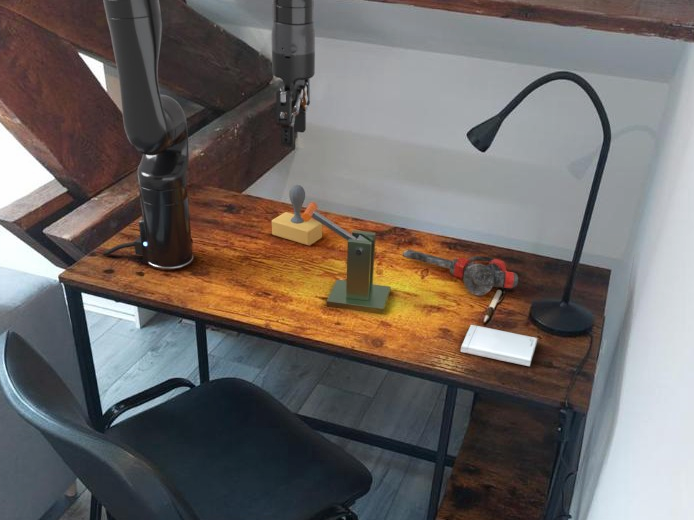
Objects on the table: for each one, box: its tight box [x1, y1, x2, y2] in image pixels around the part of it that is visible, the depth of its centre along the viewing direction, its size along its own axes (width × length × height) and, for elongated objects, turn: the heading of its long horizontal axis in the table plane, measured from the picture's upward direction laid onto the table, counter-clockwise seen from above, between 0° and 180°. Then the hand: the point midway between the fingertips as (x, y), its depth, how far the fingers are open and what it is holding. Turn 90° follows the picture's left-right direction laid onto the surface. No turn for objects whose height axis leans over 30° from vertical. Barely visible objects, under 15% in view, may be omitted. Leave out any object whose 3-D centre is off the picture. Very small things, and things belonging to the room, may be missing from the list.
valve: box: [402, 249, 519, 296], centre depth 169 cm, size 6×26×15 cm
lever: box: [301, 201, 370, 242], centre depth 151 cm, size 14×6×2 cm, turn 78°
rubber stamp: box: [271, 184, 323, 247], centre depth 177 cm, size 10×6×12 cm, turn 61°
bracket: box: [326, 229, 392, 315], centre depth 154 cm, size 11×9×13 cm
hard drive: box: [460, 324, 538, 367], centre depth 145 cm, size 2×8×12 cm
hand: (293, 138), depth 150 cm, fingers open, 8 cm apart
